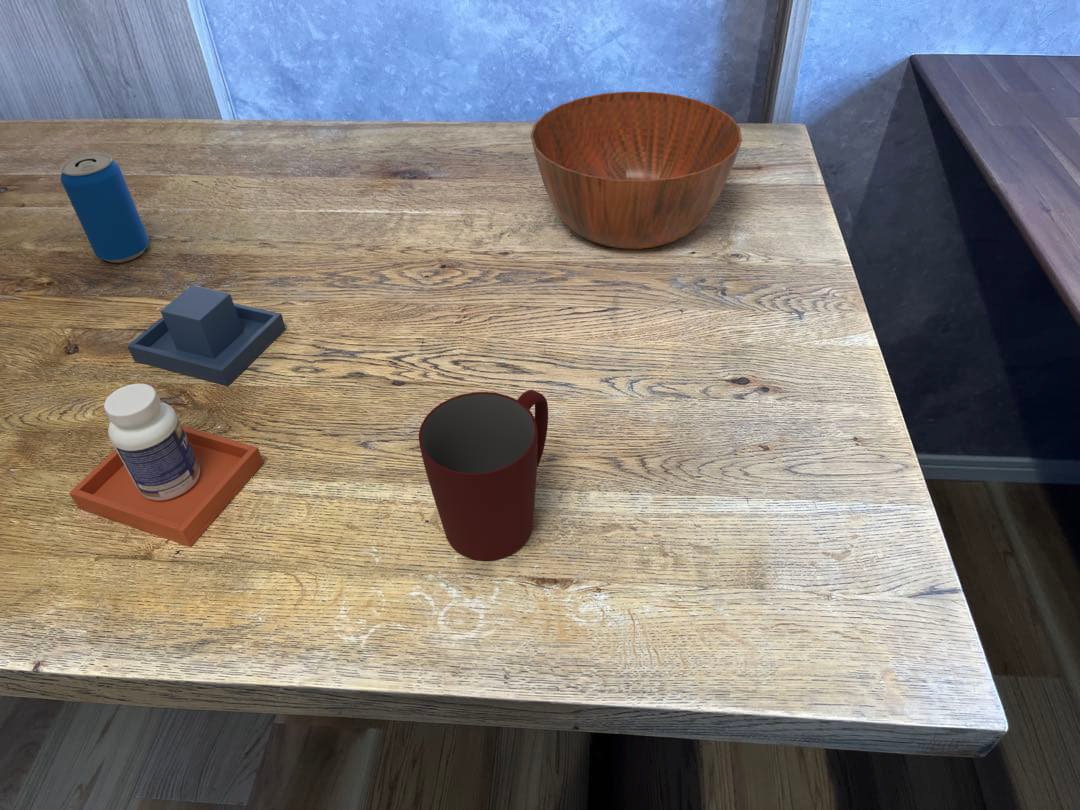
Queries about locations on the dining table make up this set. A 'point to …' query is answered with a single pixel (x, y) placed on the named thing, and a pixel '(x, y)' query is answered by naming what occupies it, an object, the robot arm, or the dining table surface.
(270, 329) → the blue tray
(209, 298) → the blue block
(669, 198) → the bowl
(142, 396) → the pill bottle
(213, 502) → the terracotta tray
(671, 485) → the dining table surface
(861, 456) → the dining table surface
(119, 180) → the beverage can
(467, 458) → the mug
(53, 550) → the dining table surface
